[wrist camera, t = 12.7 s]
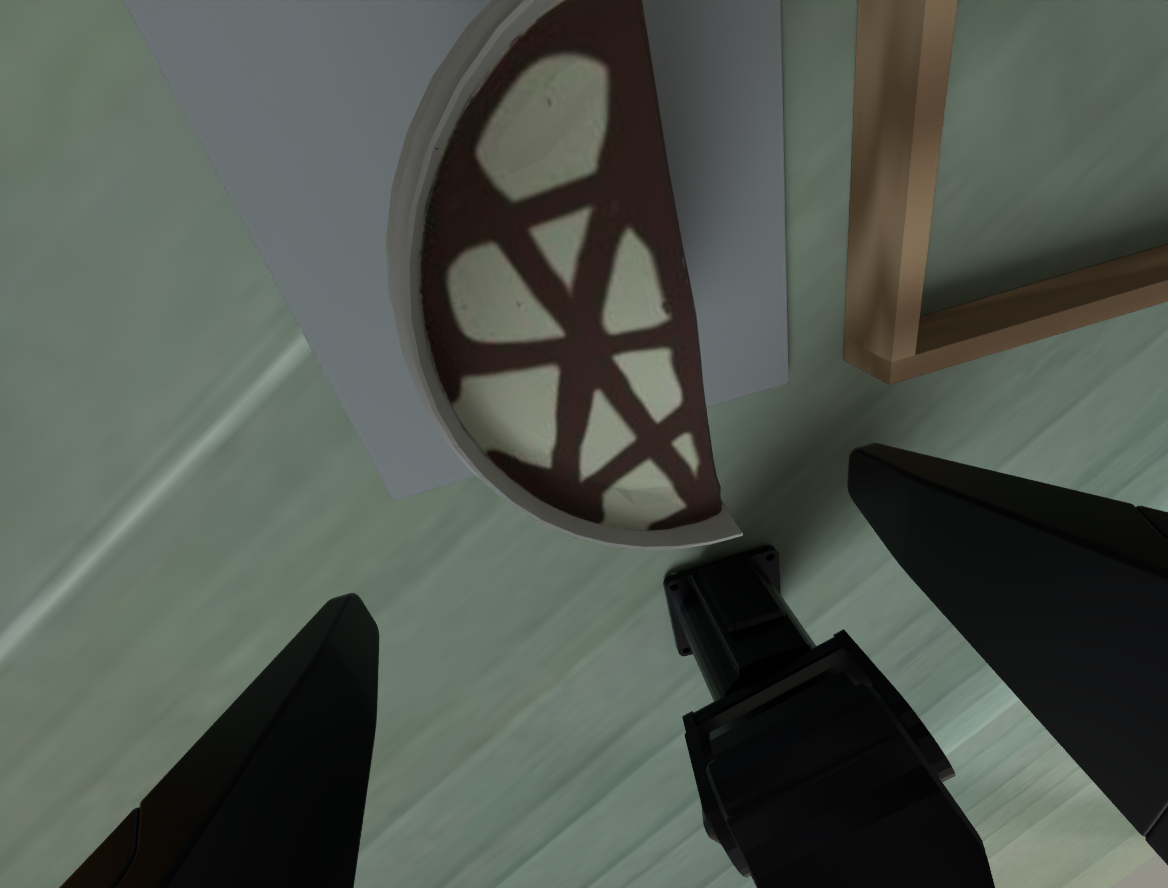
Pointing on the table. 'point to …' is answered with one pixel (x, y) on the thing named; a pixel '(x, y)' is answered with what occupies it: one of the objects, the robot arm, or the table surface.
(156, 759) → the table surface
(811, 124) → the table surface
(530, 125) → the food container
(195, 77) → the slate mat
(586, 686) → the table surface
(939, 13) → the walnut frame
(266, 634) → the table surface
